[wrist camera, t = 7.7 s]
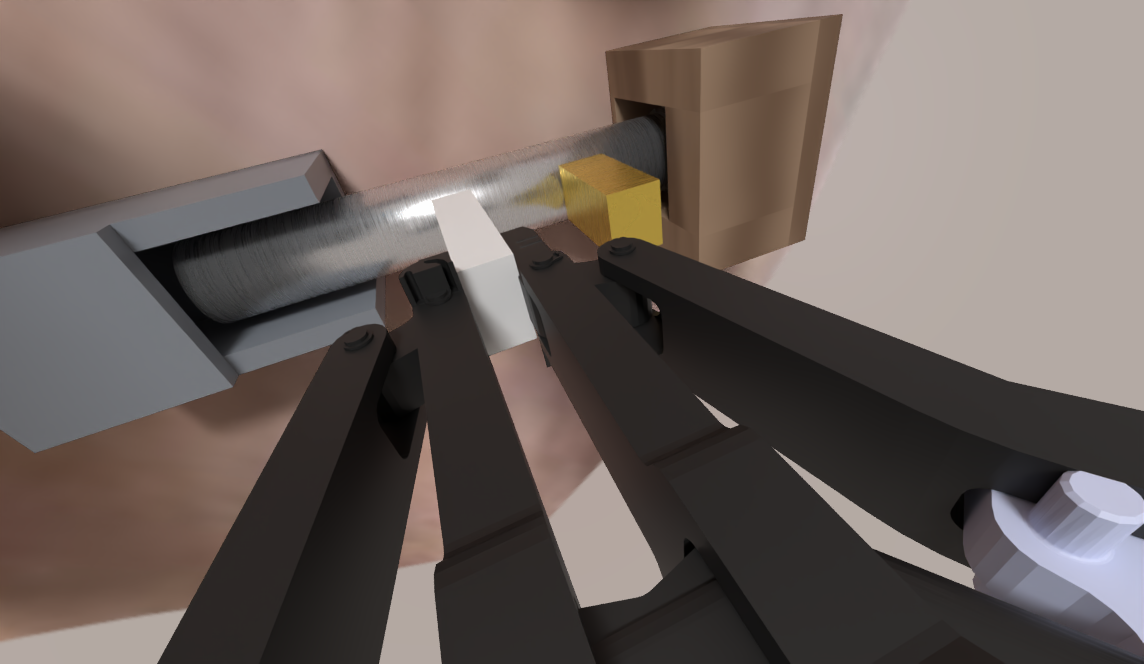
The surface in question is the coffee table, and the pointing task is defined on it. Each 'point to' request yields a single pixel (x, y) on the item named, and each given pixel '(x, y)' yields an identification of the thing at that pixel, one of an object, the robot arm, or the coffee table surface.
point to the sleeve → (148, 305)
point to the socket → (733, 130)
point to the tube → (430, 219)
